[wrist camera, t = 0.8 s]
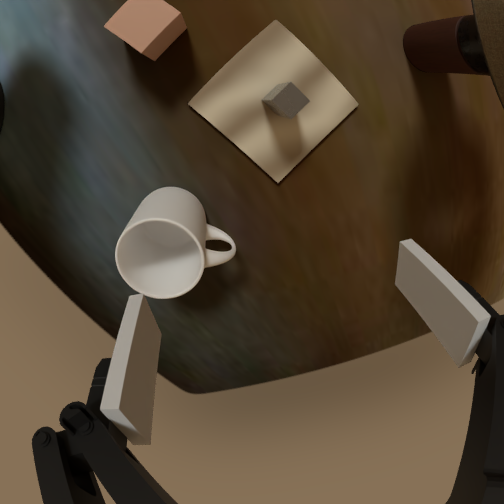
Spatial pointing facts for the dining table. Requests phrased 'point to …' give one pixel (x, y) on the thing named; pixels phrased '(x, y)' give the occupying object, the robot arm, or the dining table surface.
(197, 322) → the dining table surface
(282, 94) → the post
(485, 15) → the lamp
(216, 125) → the board
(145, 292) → the mug
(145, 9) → the pink rectangular block
